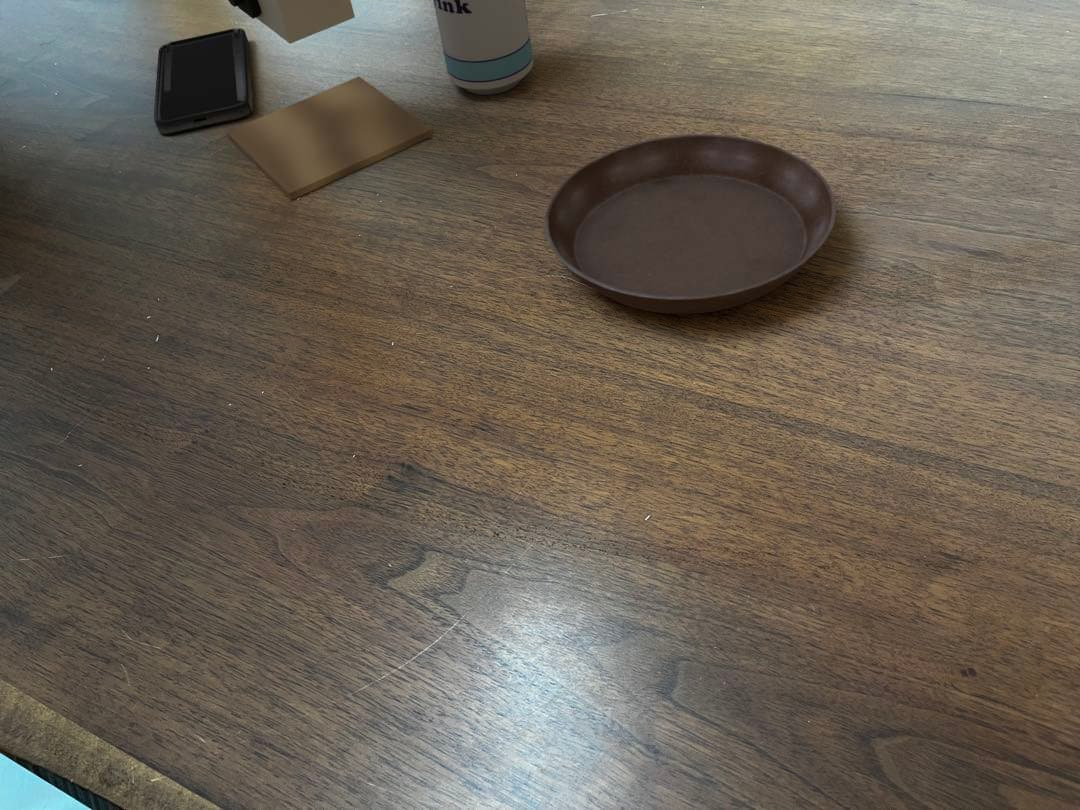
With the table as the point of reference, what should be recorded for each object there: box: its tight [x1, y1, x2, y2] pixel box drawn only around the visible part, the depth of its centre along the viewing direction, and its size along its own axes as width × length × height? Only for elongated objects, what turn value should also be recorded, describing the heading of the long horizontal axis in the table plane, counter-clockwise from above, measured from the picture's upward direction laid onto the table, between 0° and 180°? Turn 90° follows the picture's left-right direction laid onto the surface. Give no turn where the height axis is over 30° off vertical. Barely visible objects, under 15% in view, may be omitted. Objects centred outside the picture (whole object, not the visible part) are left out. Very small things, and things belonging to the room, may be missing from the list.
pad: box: [226, 76, 433, 201], centre depth 84 cm, size 12×12×1 cm
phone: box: [153, 27, 254, 135], centre depth 93 cm, size 8×1×15 cm
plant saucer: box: [544, 133, 837, 315], centre depth 68 cm, size 18×18×3 cm
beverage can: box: [432, 0, 534, 96], centre depth 83 cm, size 7×7×12 cm
